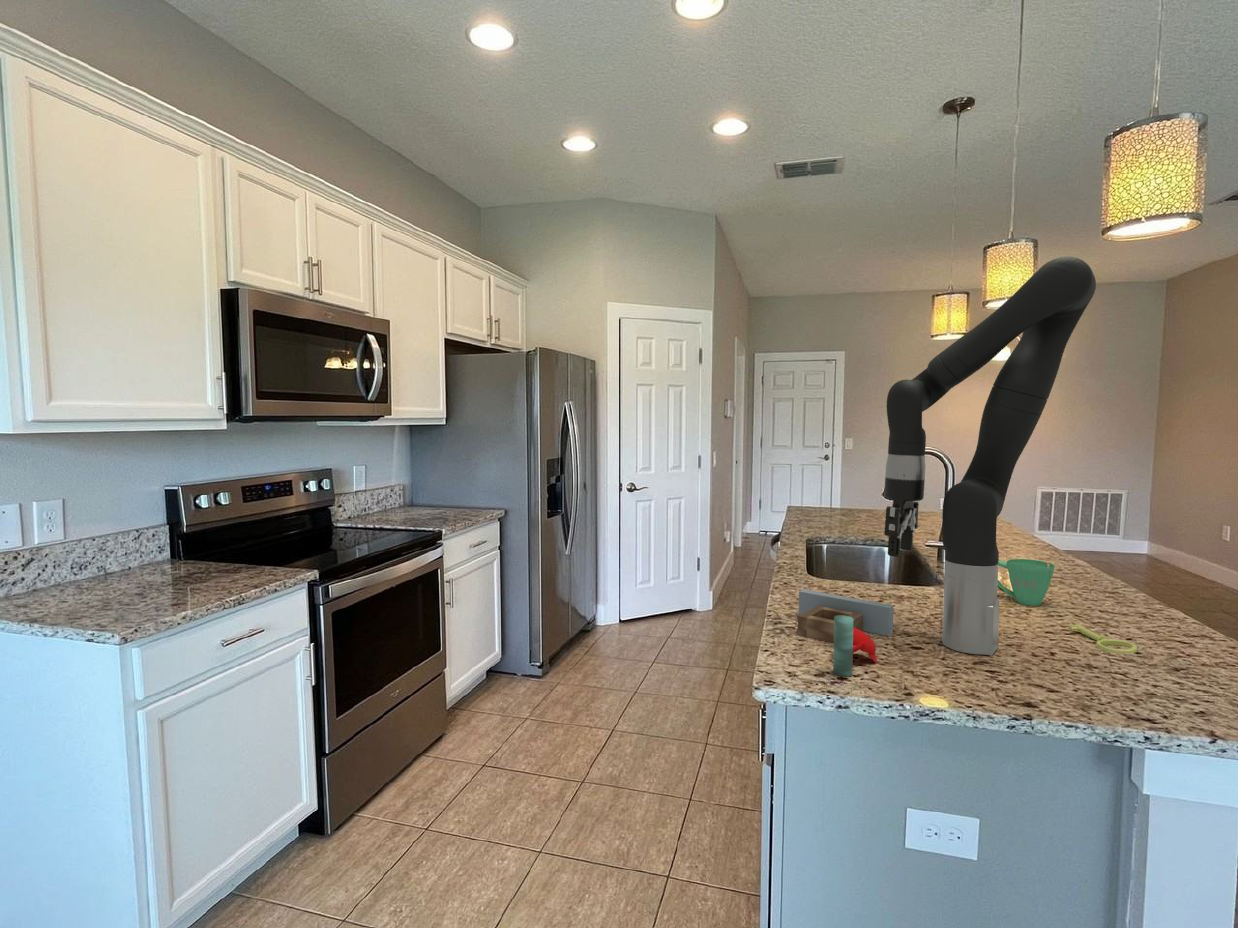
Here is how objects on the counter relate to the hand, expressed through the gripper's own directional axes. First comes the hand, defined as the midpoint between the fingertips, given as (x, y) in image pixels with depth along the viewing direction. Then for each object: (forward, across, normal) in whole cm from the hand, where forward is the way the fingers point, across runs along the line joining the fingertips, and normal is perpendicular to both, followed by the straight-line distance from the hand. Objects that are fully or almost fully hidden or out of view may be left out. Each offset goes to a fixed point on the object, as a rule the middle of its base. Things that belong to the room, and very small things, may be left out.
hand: (900, 552), depth 131 cm
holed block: (+18, -10, +10) cm, 23 cm away
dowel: (+17, -29, 0) cm, 34 cm away
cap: (+18, -21, +1) cm, 27 cm away
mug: (+17, +44, -16) cm, 50 cm away
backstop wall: (+18, -2, +10) cm, 20 cm away
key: (+17, +20, -34) cm, 43 cm away
